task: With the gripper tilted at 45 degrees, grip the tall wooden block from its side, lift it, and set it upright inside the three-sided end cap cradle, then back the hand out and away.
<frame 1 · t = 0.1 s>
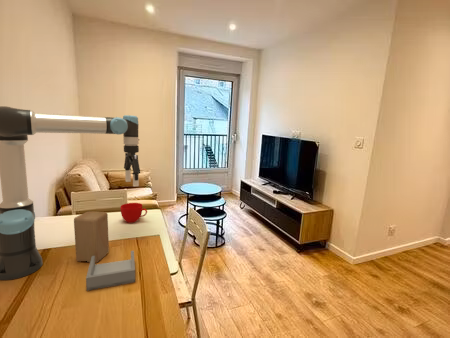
hand: (131, 184, 136), 28 cm above the table, tool pointing down, fingers open, 13 cm apart
wooden block: (93, 257, 113), on the table
end cap cradle: (112, 274, 100), on the table
ceramic cup: (134, 221, 157), on the table
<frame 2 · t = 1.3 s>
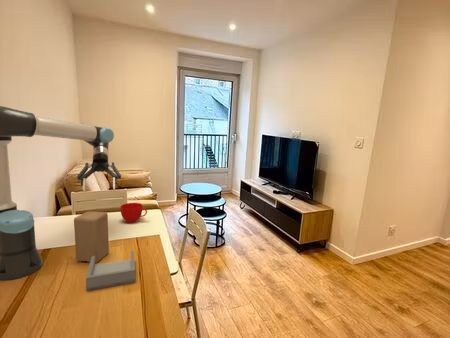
hand: (99, 190, 125), 27 cm above the table, tool tilted 45°, fingers open, 13 cm apart
nothing on the table moved.
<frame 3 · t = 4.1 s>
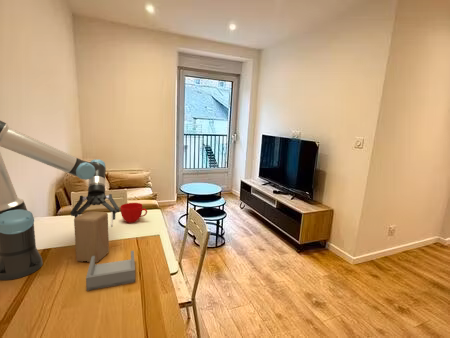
hand: (95, 227, 112), 13 cm above the table, tool tilted 45°, fingers open, 13 cm apart
wooden block: (93, 257, 113), on the table, touching gripper
everything else where it was.
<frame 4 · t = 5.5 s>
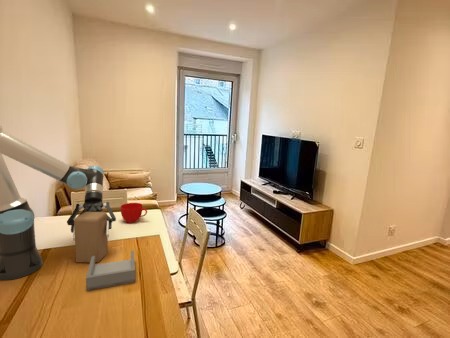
hand: (91, 237, 109), 10 cm above the table, tool tilted 45°, fingers closed on wooden block, 12 cm apart
wooden block: (92, 257, 112), on the table, touching gripper
everything else where it was.
when the fingers open (13 cm above the table, at t = 12.4 s): wooden block drops 1 cm, resting on end cap cradle.
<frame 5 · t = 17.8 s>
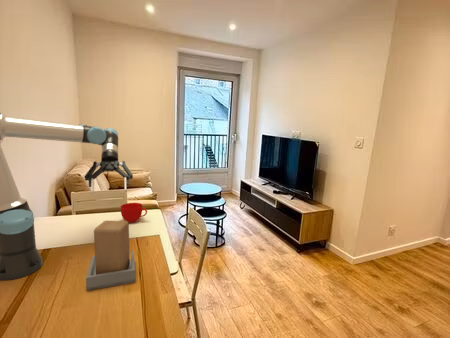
hand: (109, 191, 111), 30 cm above the table, tool tilted 45°, fingers open, 13 cm apart
wooden block: (113, 272, 100), point 1 cm above the table, touching end cap cradle
everything else where it was.
at the end: wooden block 0.4 cm off-centre on the end cap cradle, point 0.8 cm above the end cap cradle's base; wooden block tilted 0°; the gripper is holding nothing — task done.
